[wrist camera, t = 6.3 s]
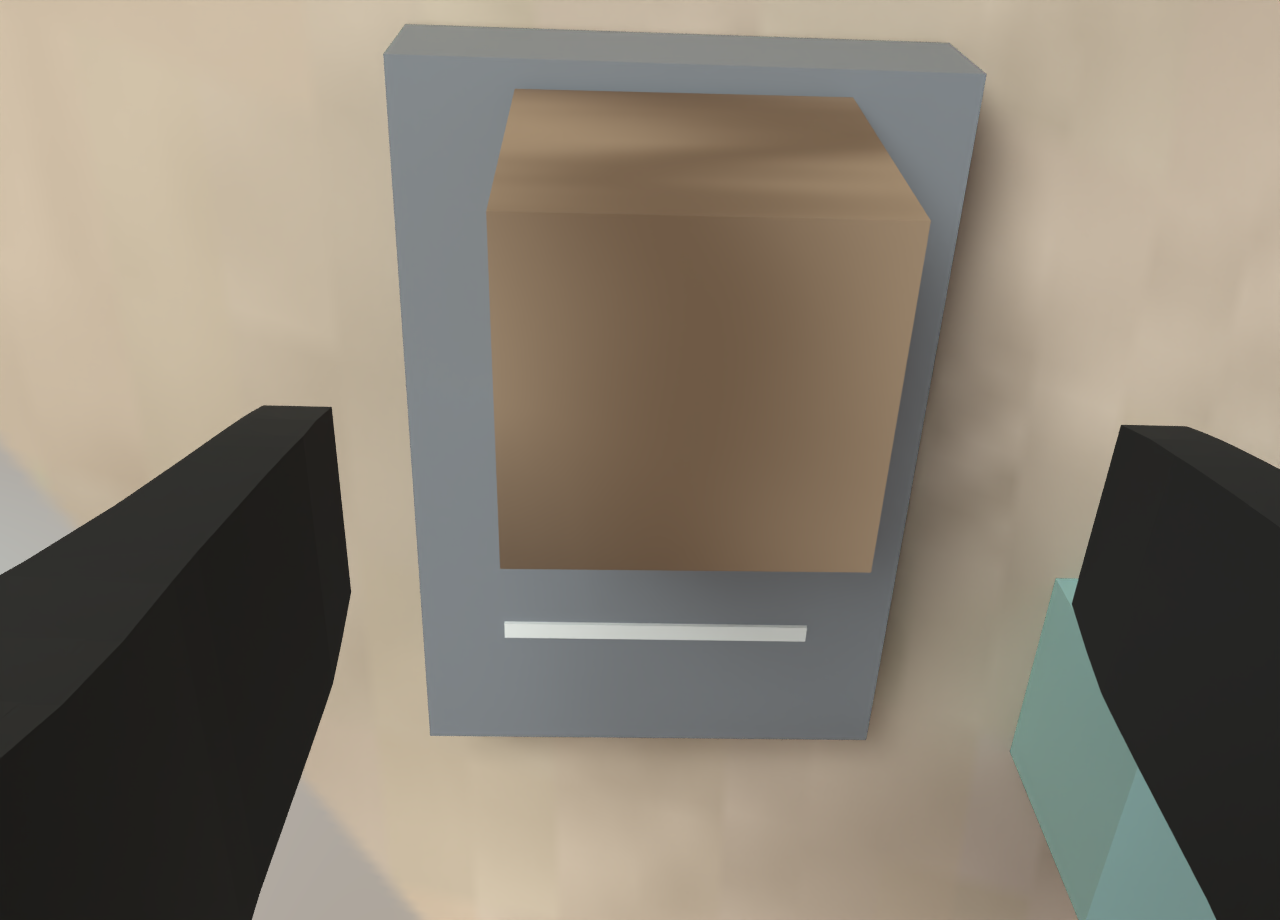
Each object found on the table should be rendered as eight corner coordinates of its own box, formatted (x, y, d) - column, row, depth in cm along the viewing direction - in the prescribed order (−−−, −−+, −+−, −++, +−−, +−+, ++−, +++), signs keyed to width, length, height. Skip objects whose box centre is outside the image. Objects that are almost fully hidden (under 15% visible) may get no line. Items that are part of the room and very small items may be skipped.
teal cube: (1283, 579, 23) (1420, 745, 19) (1217, 751, 25) (1327, 929, 21) (1054, 575, 23) (1146, 743, 19) (1008, 749, 25) (1082, 929, 21)
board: (949, 42, 18) (988, 74, 16) (847, 668, 24) (866, 742, 22) (405, 24, 17) (382, 55, 16) (442, 663, 23) (429, 738, 22)
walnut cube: (852, 97, 16) (930, 220, 12) (815, 392, 18) (870, 572, 15) (514, 88, 16) (485, 211, 12) (521, 387, 18) (500, 568, 14)
